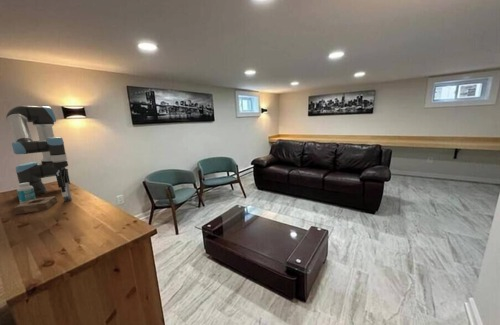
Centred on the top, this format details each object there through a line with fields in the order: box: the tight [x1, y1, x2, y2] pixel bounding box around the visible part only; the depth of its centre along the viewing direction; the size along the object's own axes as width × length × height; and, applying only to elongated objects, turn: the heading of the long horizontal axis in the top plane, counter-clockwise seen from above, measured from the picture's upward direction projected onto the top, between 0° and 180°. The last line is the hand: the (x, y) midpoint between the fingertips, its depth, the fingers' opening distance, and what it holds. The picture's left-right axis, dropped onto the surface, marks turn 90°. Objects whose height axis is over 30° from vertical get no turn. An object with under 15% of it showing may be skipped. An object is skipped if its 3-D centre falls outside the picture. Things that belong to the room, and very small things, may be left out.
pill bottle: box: [16, 182, 37, 204], centre depth 135 cm, size 8×7×14 cm
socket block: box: [13, 195, 58, 215], centre depth 128 cm, size 14×14×4 cm
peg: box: [62, 182, 73, 202], centre depth 137 cm, size 4×4×12 cm
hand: (66, 195), depth 138 cm, fingers closed on peg, 4 cm apart
